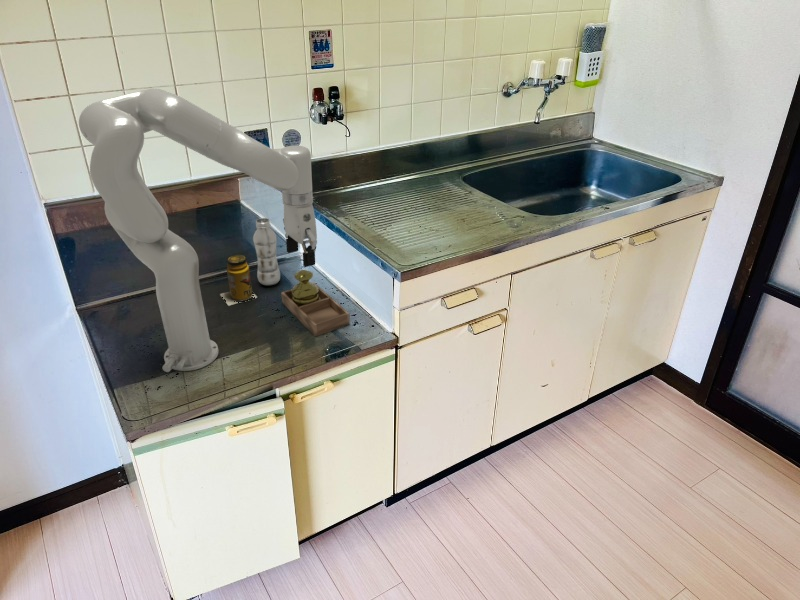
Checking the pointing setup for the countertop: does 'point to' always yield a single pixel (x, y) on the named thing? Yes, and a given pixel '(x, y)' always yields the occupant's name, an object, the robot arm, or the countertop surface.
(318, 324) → the caddy
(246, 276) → the condiment
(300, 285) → the brass weight
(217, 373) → the countertop surface
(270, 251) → the plastic bottle
